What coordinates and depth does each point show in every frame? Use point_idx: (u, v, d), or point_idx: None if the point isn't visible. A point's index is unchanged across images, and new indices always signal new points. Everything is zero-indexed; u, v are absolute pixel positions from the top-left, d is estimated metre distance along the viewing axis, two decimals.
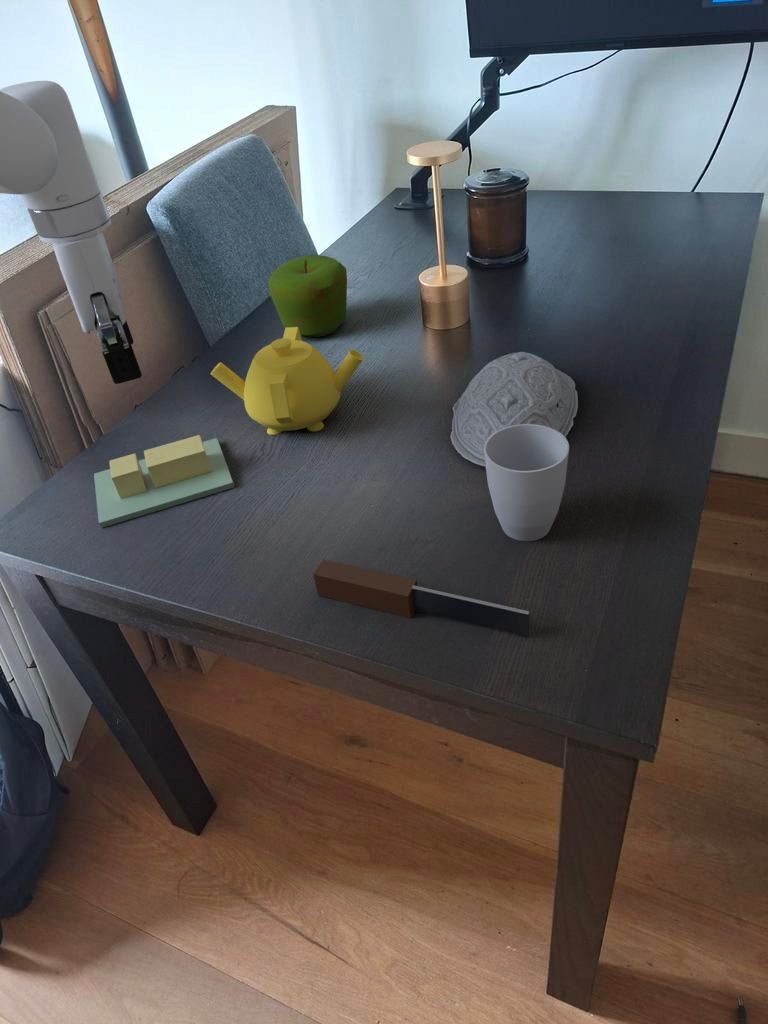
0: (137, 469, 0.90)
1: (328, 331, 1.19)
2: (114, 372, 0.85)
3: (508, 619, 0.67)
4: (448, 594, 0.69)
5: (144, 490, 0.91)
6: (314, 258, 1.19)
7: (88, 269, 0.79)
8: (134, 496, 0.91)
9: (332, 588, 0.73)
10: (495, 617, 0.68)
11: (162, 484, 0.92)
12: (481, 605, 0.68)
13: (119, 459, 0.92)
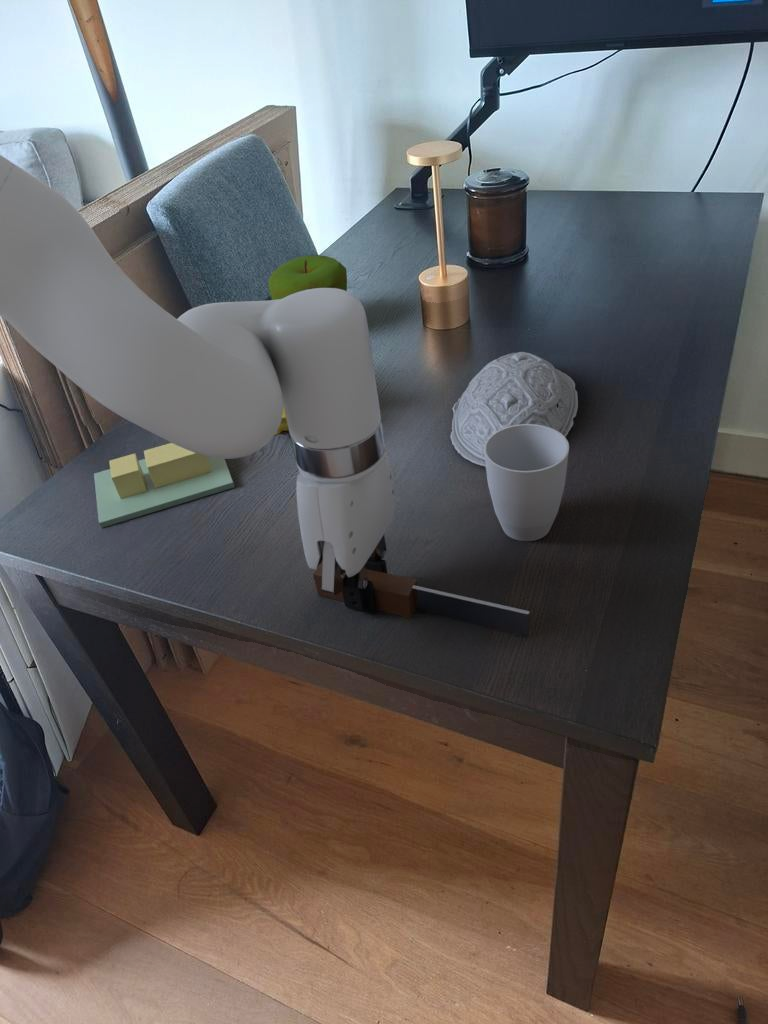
0: (137, 469, 0.90)
1: None
2: None
3: (508, 619, 0.67)
4: (448, 594, 0.69)
5: (144, 490, 0.91)
6: (314, 258, 1.19)
7: (322, 516, 0.62)
8: (134, 496, 0.91)
9: None
10: (495, 617, 0.68)
11: (162, 484, 0.92)
12: (481, 605, 0.68)
13: (119, 459, 0.92)
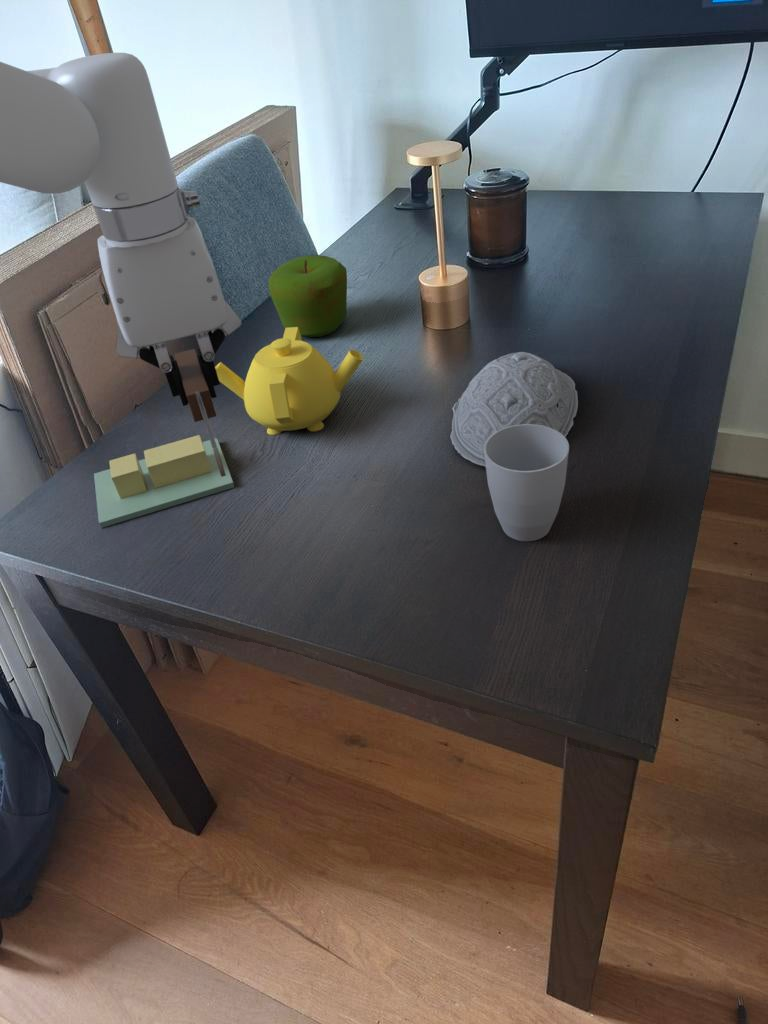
0: (137, 469, 0.90)
1: (328, 331, 1.19)
2: None
3: None
4: (202, 408, 0.70)
5: (144, 490, 0.91)
6: (314, 258, 1.19)
7: None
8: (134, 496, 0.91)
9: None
10: None
11: (162, 484, 0.92)
12: None
13: (119, 459, 0.92)
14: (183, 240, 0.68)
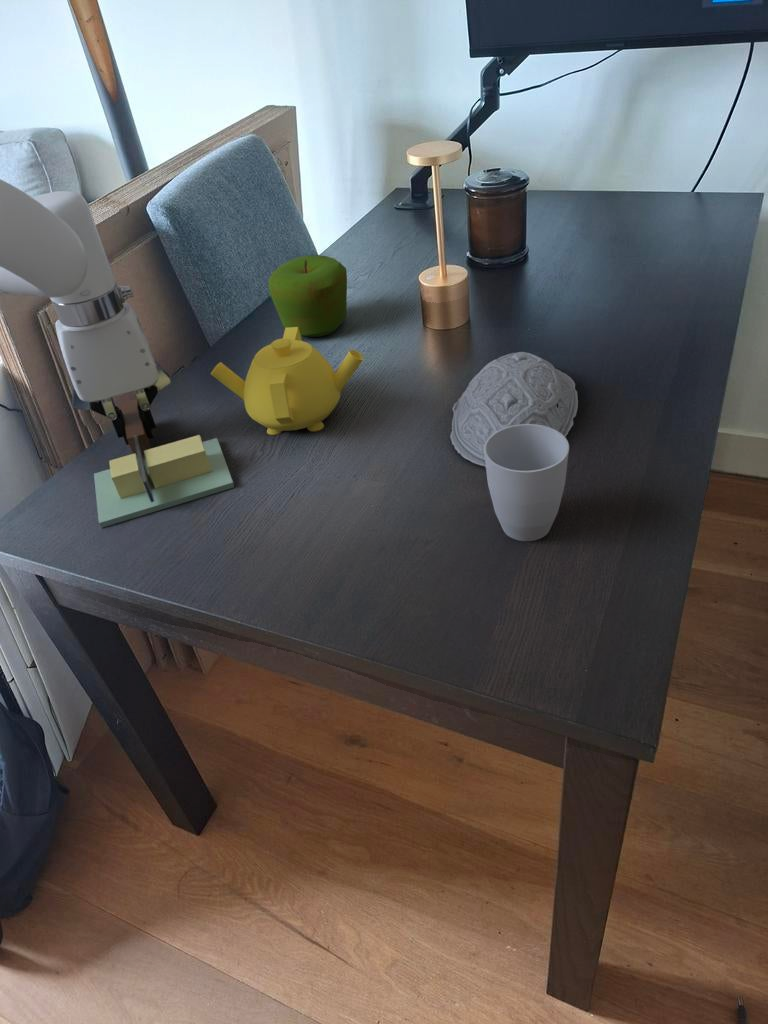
0: (137, 469, 0.90)
1: (328, 331, 1.19)
2: None
3: None
4: (138, 449, 0.92)
5: (144, 490, 0.91)
6: (314, 258, 1.19)
7: None
8: (134, 496, 0.91)
9: None
10: None
11: (162, 484, 0.92)
12: (139, 464, 0.90)
13: (119, 459, 0.92)
14: (120, 323, 0.89)
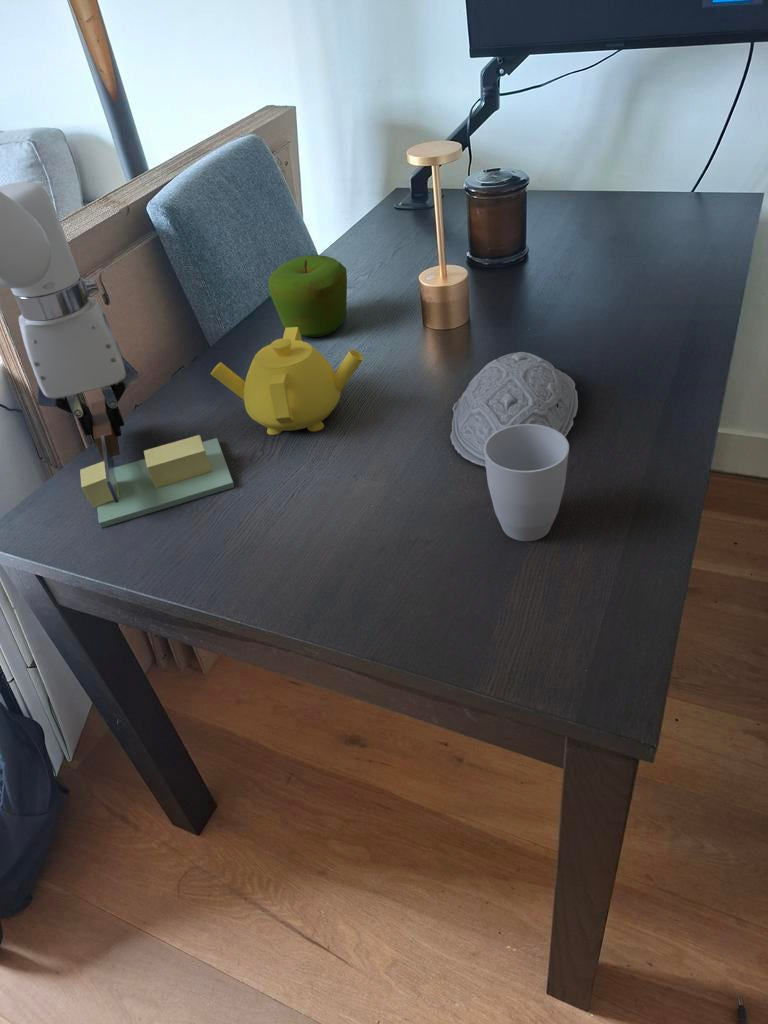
0: None
1: (328, 331, 1.19)
2: None
3: None
4: (104, 449, 0.90)
5: None
6: (314, 258, 1.19)
7: None
8: (134, 496, 0.91)
9: None
10: None
11: (162, 484, 0.92)
12: (104, 464, 0.88)
13: (90, 467, 0.91)
14: (85, 318, 0.87)
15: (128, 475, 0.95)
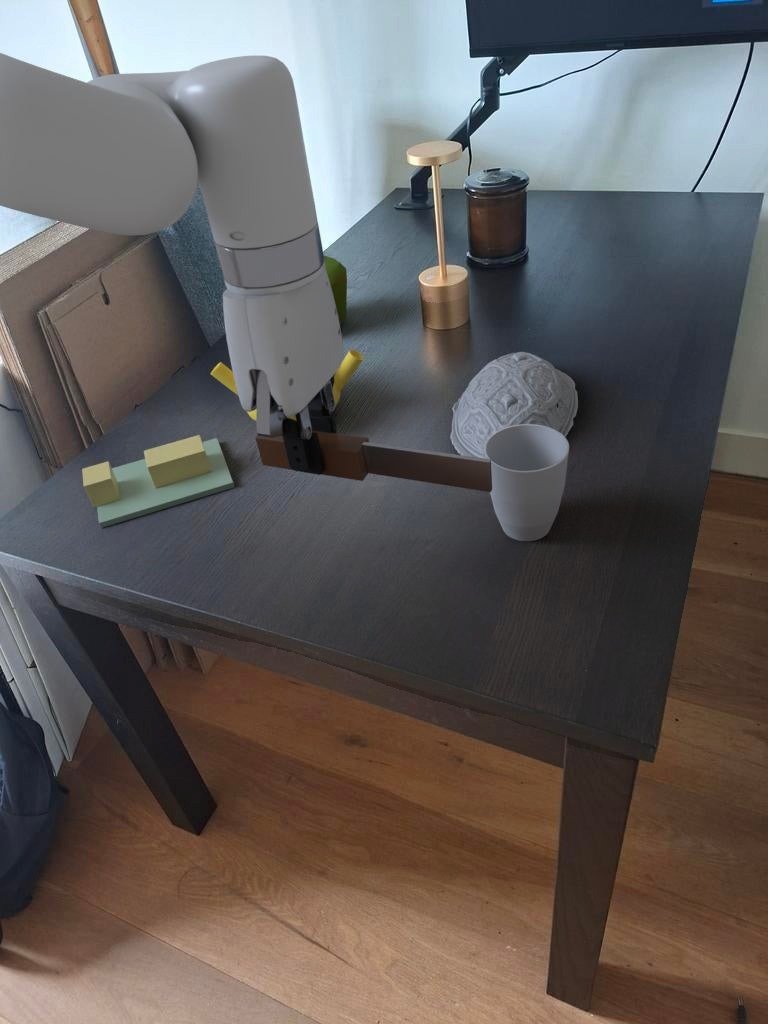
0: (110, 477, 0.89)
1: None
2: None
3: (468, 471, 0.60)
4: (402, 448, 0.62)
5: (117, 498, 0.91)
6: None
7: (253, 338, 0.55)
8: (134, 496, 0.91)
9: (277, 453, 0.66)
10: (454, 470, 0.61)
11: (162, 484, 0.92)
12: (437, 456, 0.61)
13: (92, 467, 0.91)
14: None
15: (128, 475, 0.95)
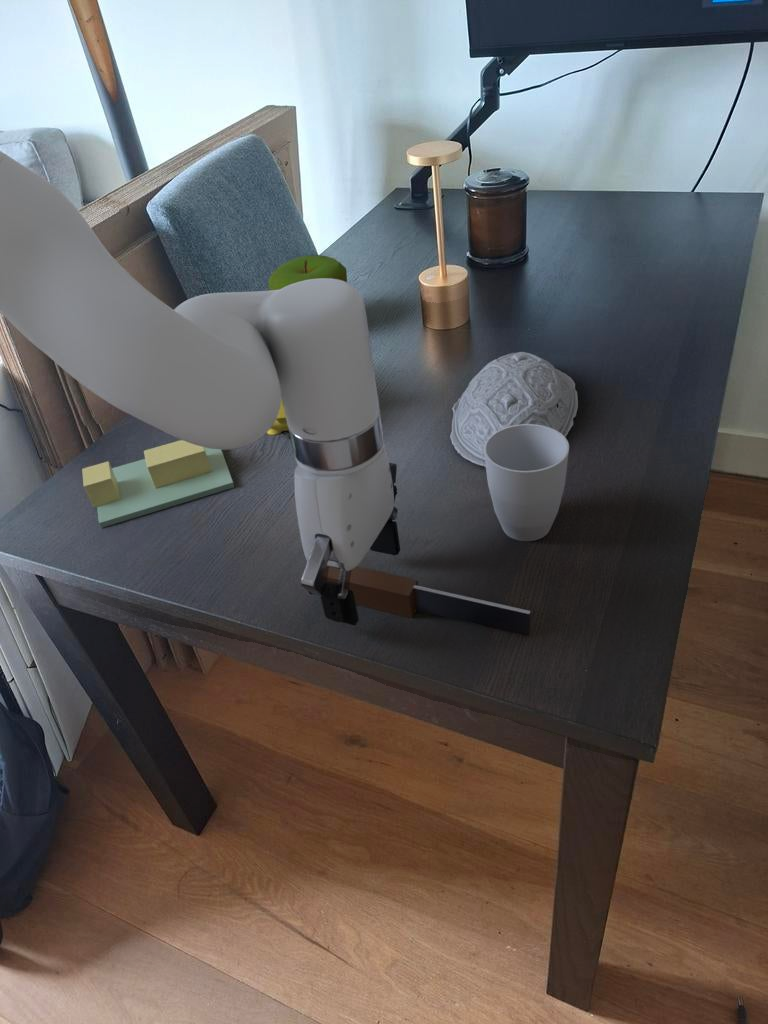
0: (110, 477, 0.89)
1: None
2: None
3: (509, 619, 0.67)
4: (449, 594, 0.69)
5: (117, 498, 0.91)
6: (314, 258, 1.19)
7: (320, 509, 0.61)
8: (134, 496, 0.91)
9: None
10: (496, 617, 0.68)
11: (162, 484, 0.92)
12: (482, 604, 0.68)
13: (92, 467, 0.91)
14: None
15: (128, 475, 0.95)
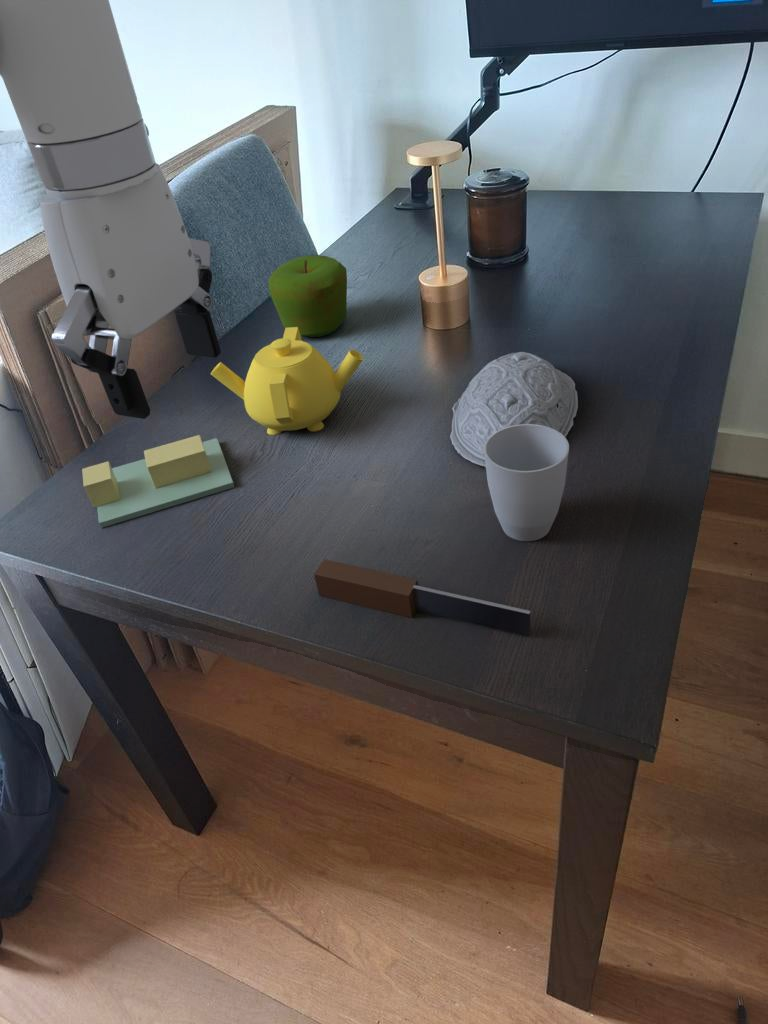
0: (110, 477, 0.89)
1: (328, 331, 1.19)
2: None
3: (509, 619, 0.67)
4: (449, 594, 0.69)
5: (117, 498, 0.91)
6: (314, 258, 1.19)
7: (73, 247, 0.50)
8: (134, 496, 0.91)
9: (333, 588, 0.73)
10: (496, 617, 0.68)
11: (162, 484, 0.92)
12: (482, 604, 0.68)
13: (92, 467, 0.91)
14: (157, 179, 0.53)
15: (128, 475, 0.95)
